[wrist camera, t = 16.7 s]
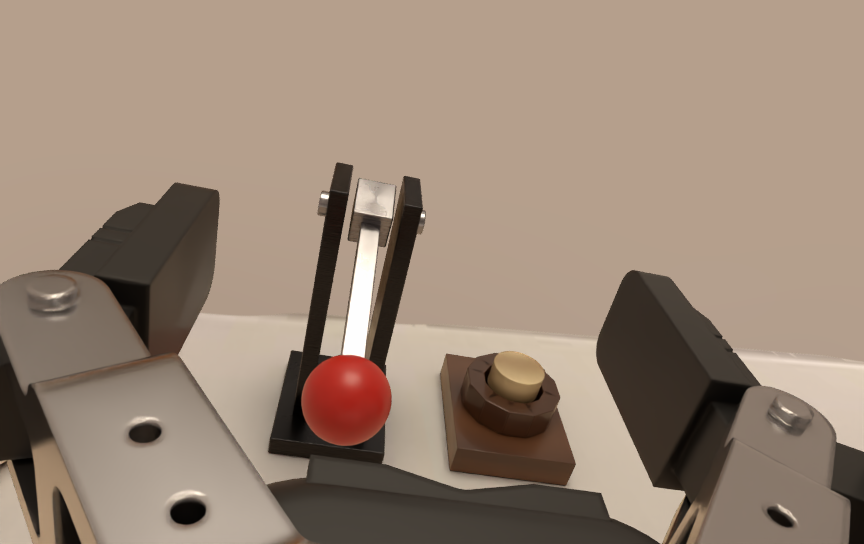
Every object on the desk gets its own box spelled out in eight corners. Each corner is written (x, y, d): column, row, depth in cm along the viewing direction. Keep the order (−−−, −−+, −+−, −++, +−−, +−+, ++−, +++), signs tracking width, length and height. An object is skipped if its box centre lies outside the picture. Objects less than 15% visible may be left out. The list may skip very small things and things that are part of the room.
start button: (541, 407, 43) (550, 387, 42) (490, 400, 42) (498, 379, 42) (531, 374, 46) (539, 355, 45) (484, 366, 46) (490, 347, 45)
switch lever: (379, 465, 29) (396, 426, 26) (291, 454, 28) (297, 412, 25) (401, 225, 39) (414, 177, 36) (336, 213, 38) (344, 163, 35)
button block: (566, 485, 42) (586, 441, 40) (449, 470, 41) (465, 424, 39) (536, 388, 51) (552, 348, 49) (440, 373, 50) (452, 332, 48)
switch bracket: (380, 467, 40) (444, 229, 32) (267, 452, 39) (305, 203, 31) (383, 377, 48) (434, 168, 40) (289, 362, 47) (323, 145, 39)
